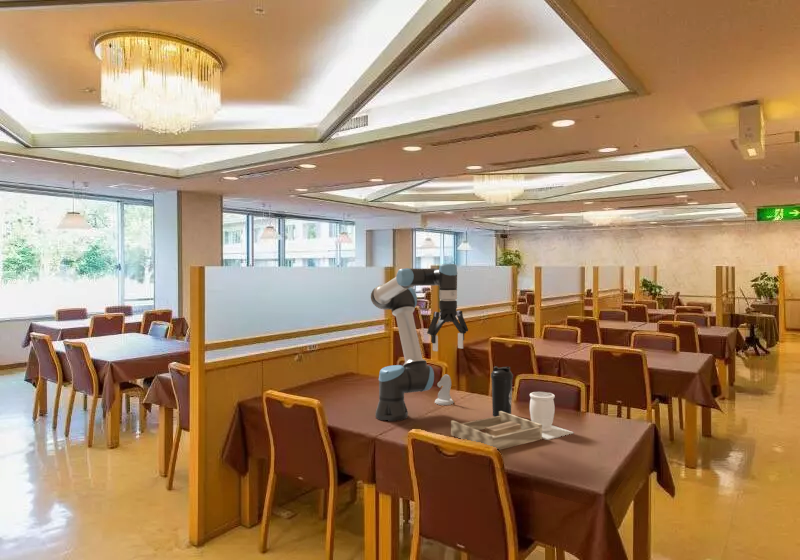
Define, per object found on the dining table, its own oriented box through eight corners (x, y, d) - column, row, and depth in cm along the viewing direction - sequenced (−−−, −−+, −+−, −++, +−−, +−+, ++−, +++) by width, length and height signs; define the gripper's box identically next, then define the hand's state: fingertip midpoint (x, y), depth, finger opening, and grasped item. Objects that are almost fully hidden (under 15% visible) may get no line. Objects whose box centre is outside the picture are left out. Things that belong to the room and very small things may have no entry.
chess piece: (441, 399, 278) (442, 371, 278) (457, 402, 272) (457, 373, 271) (430, 403, 270) (430, 374, 270) (446, 406, 264) (446, 376, 264)
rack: (450, 435, 219) (451, 420, 219) (500, 424, 234) (500, 410, 234) (490, 452, 199) (490, 436, 199) (541, 439, 214) (541, 424, 214)
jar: (526, 425, 230) (526, 391, 230) (549, 425, 231) (549, 391, 231) (534, 433, 220) (534, 397, 219) (558, 432, 221) (558, 397, 220)
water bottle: (512, 419, 242) (513, 369, 241) (490, 417, 244) (490, 368, 243) (512, 413, 252) (512, 365, 251) (491, 412, 254) (491, 364, 253)
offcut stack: (481, 443, 210) (481, 428, 210) (512, 434, 220) (512, 420, 220) (492, 447, 205) (492, 432, 205) (523, 438, 215) (523, 424, 215)
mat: (512, 427, 230) (512, 426, 230) (537, 421, 238) (537, 420, 238) (547, 440, 213) (547, 438, 213) (573, 433, 221) (573, 432, 221)
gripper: (429, 301, 215) (429, 353, 215) (476, 299, 228) (476, 348, 228) (419, 300, 221) (419, 350, 221) (465, 298, 234) (465, 346, 235)
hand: (448, 349), depth 225 cm, fingers open, 13 cm apart
